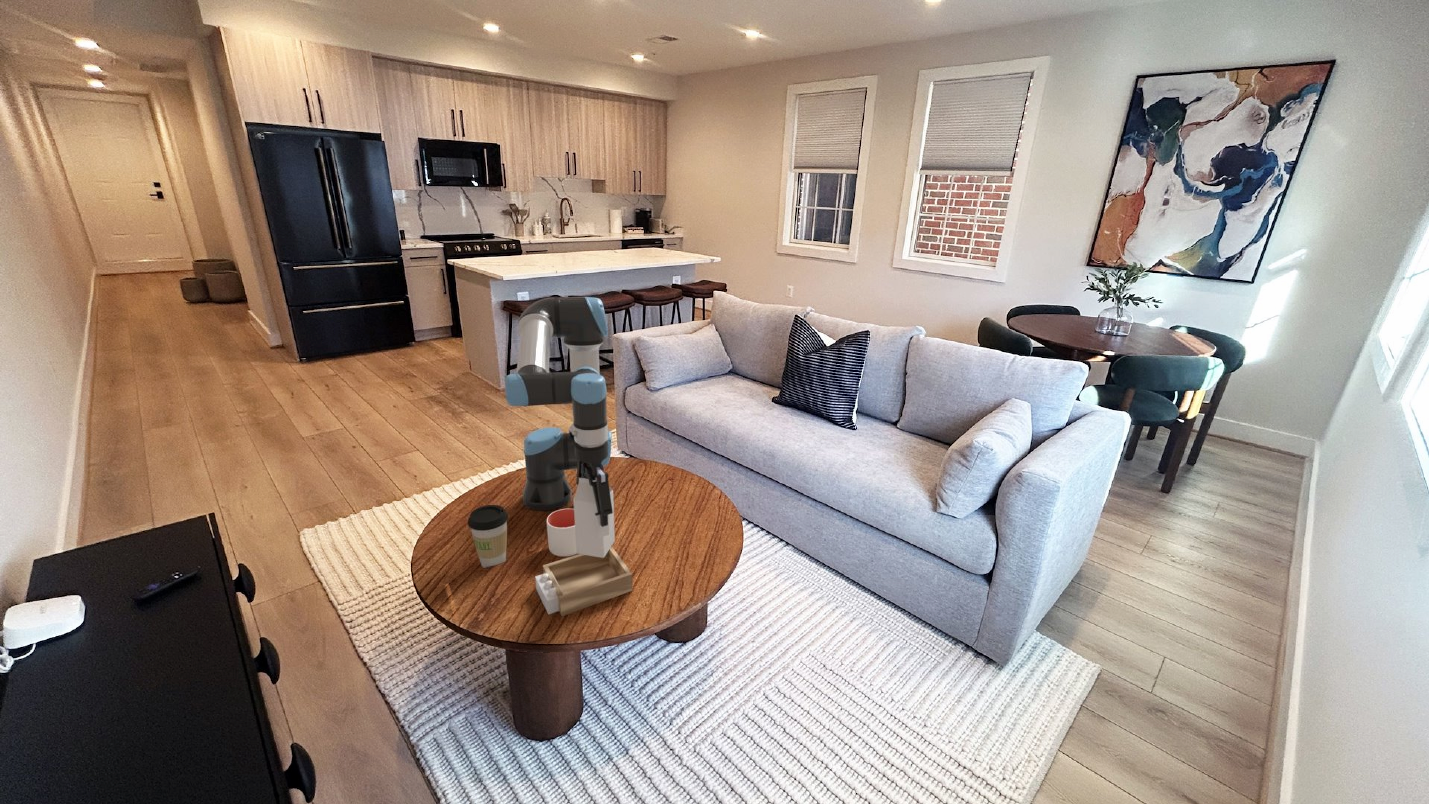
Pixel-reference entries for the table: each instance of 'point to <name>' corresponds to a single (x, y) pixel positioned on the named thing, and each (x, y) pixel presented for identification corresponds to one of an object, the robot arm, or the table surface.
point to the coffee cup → (489, 534)
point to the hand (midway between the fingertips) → (594, 524)
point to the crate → (588, 580)
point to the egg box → (547, 593)
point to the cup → (562, 532)
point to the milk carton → (590, 522)
